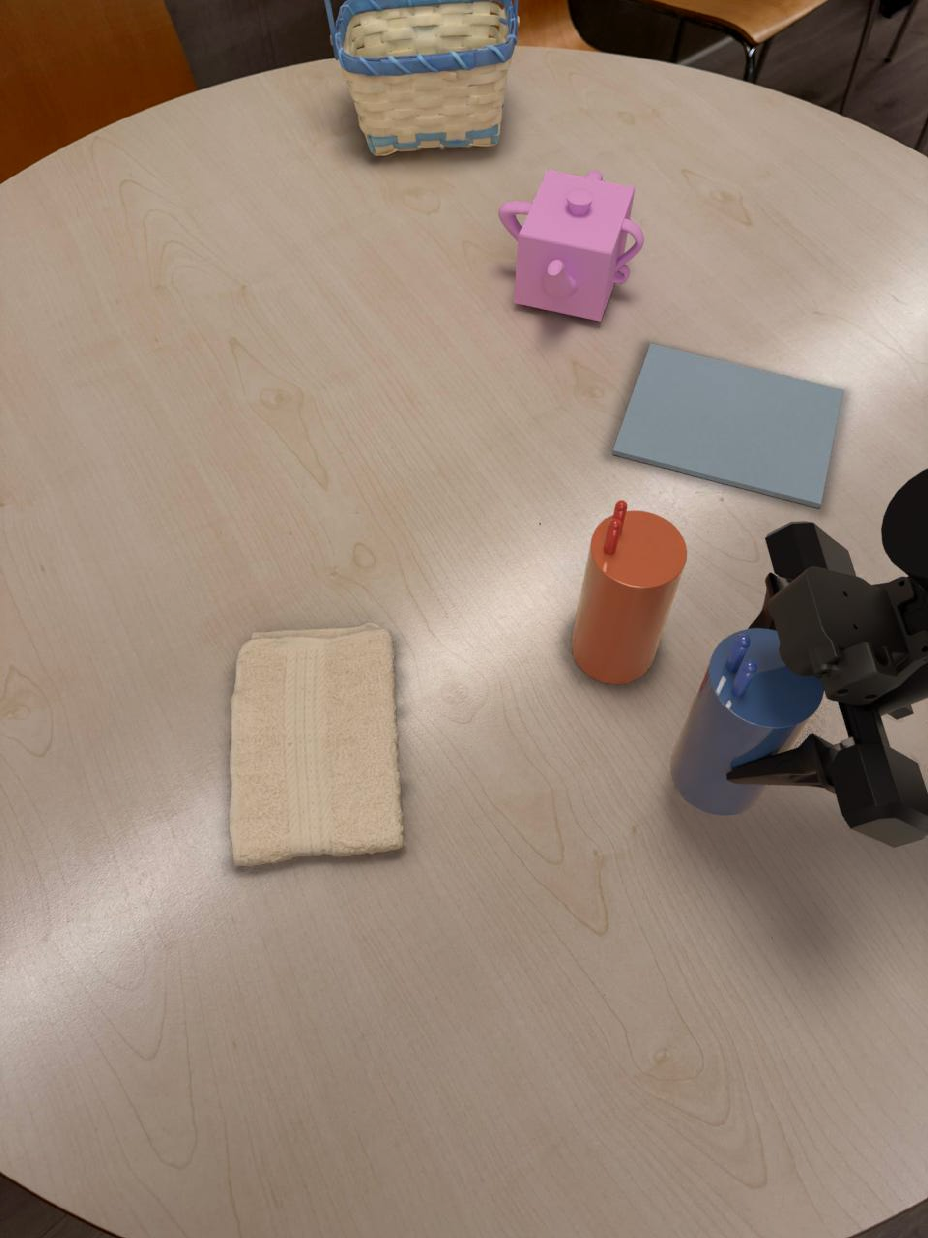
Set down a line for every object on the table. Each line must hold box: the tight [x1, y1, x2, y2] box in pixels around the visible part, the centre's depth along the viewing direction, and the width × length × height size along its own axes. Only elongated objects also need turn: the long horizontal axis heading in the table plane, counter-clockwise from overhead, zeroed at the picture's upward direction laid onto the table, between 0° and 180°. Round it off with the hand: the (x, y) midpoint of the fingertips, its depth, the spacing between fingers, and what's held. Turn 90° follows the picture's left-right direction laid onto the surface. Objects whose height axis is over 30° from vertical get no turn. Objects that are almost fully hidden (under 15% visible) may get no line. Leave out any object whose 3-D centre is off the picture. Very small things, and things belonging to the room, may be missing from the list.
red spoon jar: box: [570, 499, 688, 685], centre depth 72 cm, size 6×6×16 cm
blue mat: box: [611, 343, 845, 509], centre depth 91 cm, size 18×14×1 cm
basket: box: [323, 0, 521, 157], centre depth 105 cm, size 21×16×24 cm
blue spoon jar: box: [669, 628, 825, 817], centre depth 62 cm, size 6×6×16 cm
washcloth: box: [229, 621, 407, 867], centre depth 73 cm, size 12×18×3 cm, turn 6°
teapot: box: [497, 169, 645, 323], centre depth 96 cm, size 18×14×10 cm
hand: (718, 727), depth 63 cm, fingers closed on blue spoon jar, 6 cm apart
